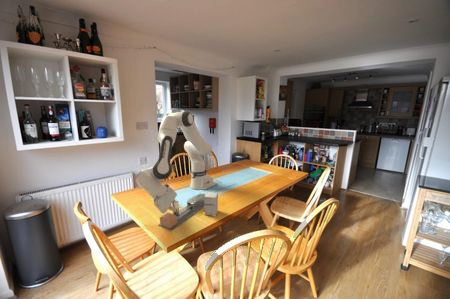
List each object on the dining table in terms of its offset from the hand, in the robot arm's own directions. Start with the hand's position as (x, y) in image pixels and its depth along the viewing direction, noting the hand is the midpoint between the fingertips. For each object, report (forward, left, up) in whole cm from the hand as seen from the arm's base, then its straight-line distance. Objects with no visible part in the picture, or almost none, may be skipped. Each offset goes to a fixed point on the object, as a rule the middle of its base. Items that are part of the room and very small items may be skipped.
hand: (176, 208), depth 116 cm
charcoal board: (-8, -4, -7) cm, 12 cm away
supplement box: (-21, +6, -8) cm, 23 cm away
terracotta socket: (+6, +2, -7) cm, 9 cm away
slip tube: (-5, -2, -6) cm, 8 cm away
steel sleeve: (-18, -7, -7) cm, 21 cm away
